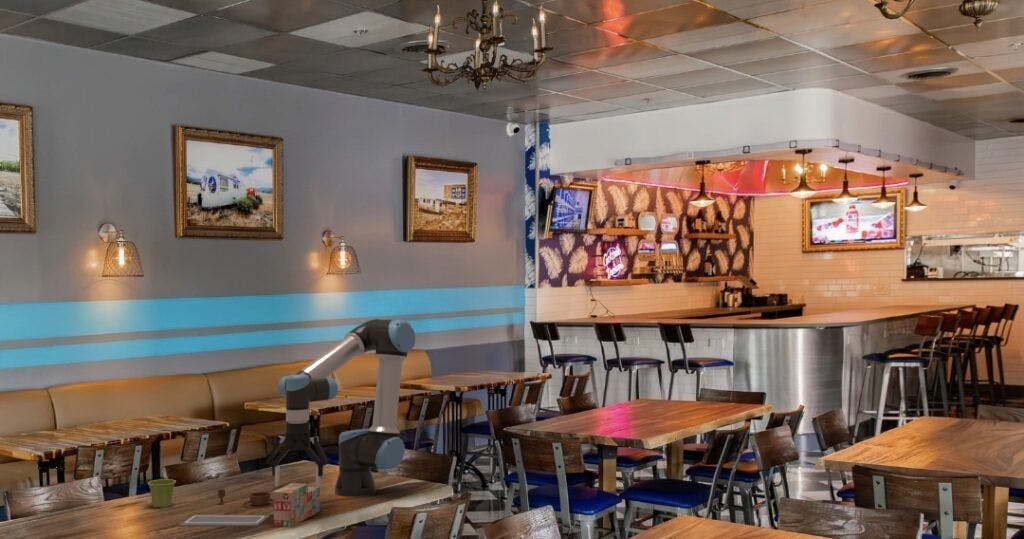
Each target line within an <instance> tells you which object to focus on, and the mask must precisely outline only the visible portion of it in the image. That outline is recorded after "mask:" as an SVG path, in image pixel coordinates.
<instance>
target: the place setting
mask: <svg viewBox="0 0 1024 539" xmlns="http://www.w3.org/2000/svg"><path fill="white" fill-rule="evenodd" d="M217 496H218V498H219V499H220V500H219V501H220V502H219V503H220V505H223V504H224V499H223V498H225V497H226V489H218V490H217ZM272 501H274V499H271V493H270V492H267V491H258V492H252V493H250V494H249V500H248V501H244V502H243V503H242V507H243V508H245V509H250V508H252V509H253V510H254V509H255V510H256V509H258V508H259V509H268V508H272V507H273V504H270V505H268V504H269V503H270V502H272ZM247 503H248V504H251V505H252V506H248V504H247ZM271 506H272V507H271ZM252 509H251V510H252Z"/></svg>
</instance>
